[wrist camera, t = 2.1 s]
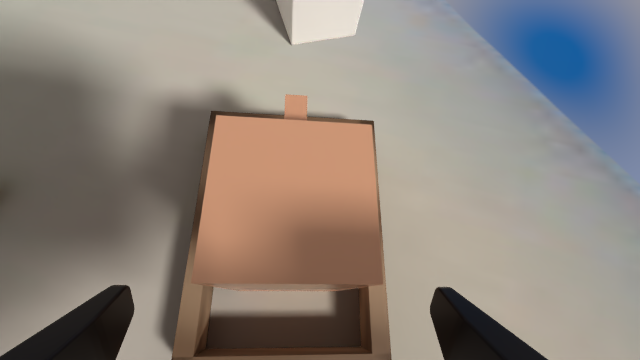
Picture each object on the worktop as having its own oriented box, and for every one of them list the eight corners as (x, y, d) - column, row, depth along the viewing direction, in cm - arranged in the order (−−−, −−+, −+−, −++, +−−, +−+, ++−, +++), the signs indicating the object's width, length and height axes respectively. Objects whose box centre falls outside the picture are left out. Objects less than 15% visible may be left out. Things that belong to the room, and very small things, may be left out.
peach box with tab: (335, 291, 19) (383, 284, 10) (238, 290, 18) (190, 283, 9) (333, 170, 22) (368, 78, 13) (250, 166, 21) (223, 66, 12)
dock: (378, 365, 18) (392, 375, 15) (184, 369, 17) (168, 381, 14) (364, 138, 23) (373, 120, 21) (218, 130, 22) (211, 110, 20)
